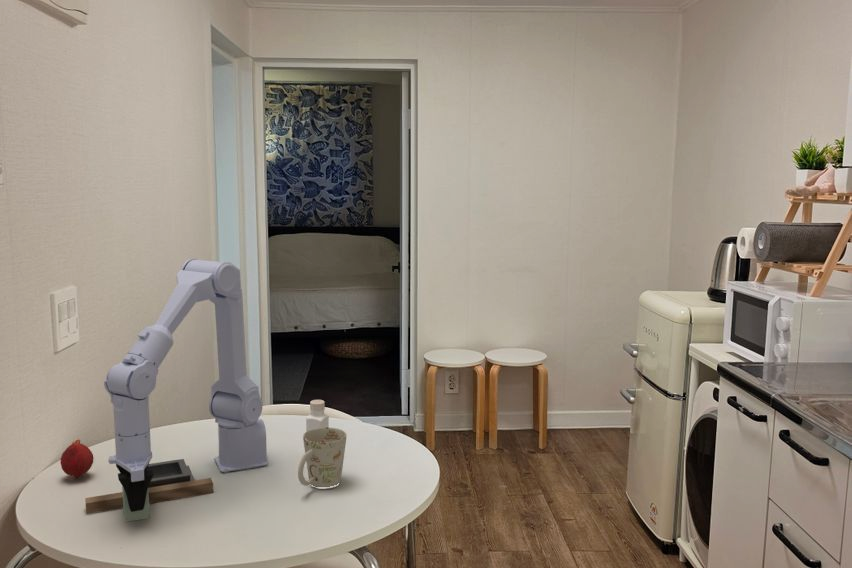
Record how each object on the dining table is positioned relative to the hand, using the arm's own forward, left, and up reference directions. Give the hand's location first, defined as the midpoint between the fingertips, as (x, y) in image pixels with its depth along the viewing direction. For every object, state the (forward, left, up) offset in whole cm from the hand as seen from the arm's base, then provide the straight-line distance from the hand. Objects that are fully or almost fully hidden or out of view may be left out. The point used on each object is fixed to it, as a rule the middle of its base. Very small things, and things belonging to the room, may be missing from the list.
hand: (135, 504), depth 132 cm
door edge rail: (-3, -5, -2) cm, 6 cm away
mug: (-33, +2, -2) cm, 33 cm away
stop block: (0, 0, -2) cm, 2 cm away
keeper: (-6, -12, -2) cm, 14 cm away
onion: (+9, -21, -2) cm, 23 cm away
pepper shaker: (-40, -21, -2) cm, 45 cm away
